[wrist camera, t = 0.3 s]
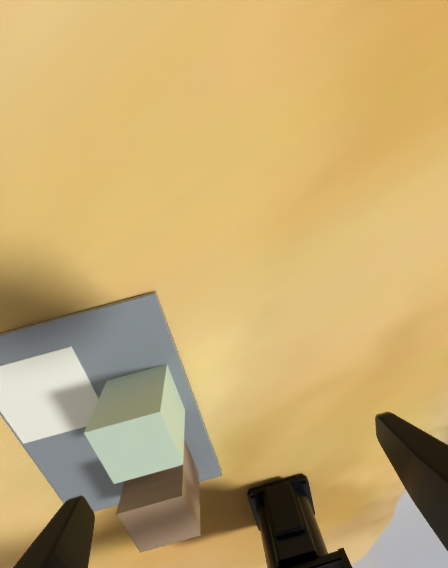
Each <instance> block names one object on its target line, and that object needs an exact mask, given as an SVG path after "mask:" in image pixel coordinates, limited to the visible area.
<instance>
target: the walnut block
mask: <svg viewBox="0 0 448 568" xmlns="http://www.w3.org/2000/svg"><path fill="white" fill-rule="evenodd" d="M116 515H117V516H118V518H119V519H120V521H121V523H122V524H123V526H124V528H125V529H126V531H127V532H128V534H129V536H130V537H131V539H132V540H133V542H134V544H135V545H136V547H137V548H138V550H139V552H144V551H148V550H151V549H155V548H158V547H162V546H165V545H169V544H172V543H176V542H179V541H183V540H186V539H190V538H193V537H197V536H201V535H200V485H199V472H198V470H197V468H196V465H195V463H194V460H193V458H192V455H191V453H190V451H189V448H188V446H187V443H186V441H185V439H184V456H183V465H180V466H177V467H173V468H170V469H166V470H163V471H159V472H155V473H152V474H148V475H145V476H141V477H138V478H134V479H130V480H127V481H124V484H123V488H122V492H121V496H120V501H119V505H118V509H117V514H116Z"/></svg>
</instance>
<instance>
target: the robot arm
mask: <svg viewBox="0 0 448 568" xmlns="http://www.w3.org/2000/svg"><path fill="white" fill-rule="evenodd" d="M375 422H376V435H377V438H378V441H379V443H380V445H381V447H382V448H383V450H384V452H385V454H386V455H387V457H388V459H389V461H390V462H391V464H392V466H393V467H394V469H395V471H396V473H397V474H398V476H399V478H400V480H401V481H402V483H403V485H404V487H405V488H406V490H407V492H408V493H409V495H410V497H411V498H412V500H413V501H414V503H415V505H416V506H417V508H418V509H419V510H420V512H421V513H422V515H423V516H424V518H425V519H426V521H427V522H428V523H429V525H430V526H431V528H432V529H433V531H434V532H435V533H436V535H437V536H438V538H439V539H440V541H441V542H442V544H443V545H444V546H445V548H446V549H447V551H448V445H447V444H445V443H443V442H442V441H440V440H438V439H436V438H435V437H433V436H431V435H429V434H428V433H426V432H424V431H422V430H421V429H419V428H417V427H416V426H414V425H412V424H410V423H409V422H407V421H405V420H403V419H402V418H400V417H398V416H396V415H395V414H393V413H391V412H385V413H381V414H377V415H376V417H375ZM247 495H248V499H249V502H250V505H251V508H252V511H253V514H254V517H255V520H256V523H257V526H258V529H259V531H261V536H262V541H263V547H264V552H265V557H266V562H267V567H268V568H352V566H351V564H350V562H349V559H348V557H347V555H346V553H345V550H344V548H341V549H338V551H336V552H333V553H329V554H328V552H327V549H326V546H325V544H324V541H323V538H322V535H321V533H320V530H319V527H318V525H317V522H316V519H315V516H314V515H315V511H314V506H313V502H312V497H311V492H310V487H309V482H308V479H307V477H306V476H305V475H301V476H298V477H294V478H291V479H287V480H283V481H280V482H276V483H273V484H269V485H266V486H262V487H259V488H255V489H252V490H249V491H248V492H247ZM94 522H95V516H94V512H93V510H92V508H91V507H90V505H89V503H88V502H87V500H86V499H85V497H84V496H82V495H80V496H76V497H73V498H70V499H68V500H67V501H66V502H65V503H64V504H63V505H62V507H61V508H60V509H59V510H58V512H57V513H56V514H55V515H54V517H53V518H52V519H51V521H50V522H49V523H48V524H47V526H46V527H45V528H44V529H43V531H42V532H41V533H40V534H39V536H38V537H37V538H36V539H35V541H34V542H33V543H32V544H31V546H30V547H29V548H28V550H27V551H26V552H25V553H24V555H23V556H22V557H21V558H20V560H19V561H18V562H17V563H16V565H15V566H14V567H13V568H88V563H89V556H90V549H91V542H92V536H93V529H94Z"/></svg>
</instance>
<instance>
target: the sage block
mask: <svg viewBox="0 0 448 568" xmlns="http://www.w3.org/2000/svg"><path fill="white" fill-rule="evenodd" d="M184 429H185V408H184V406H183V403H182V401H181V398H180V396H179V393H178V391H177V388H176V385H175V383H174V380H173V378H172V375H171V373H170V370H169V368H168V365H167V364H165V365H162V366H158V367H154V368H151V369H147V370H143V371H140V372H136V373H133V374H129V375H125V376H122V377H118V378H114V379H111V380H107V381H106V384H105V386H104V388H103V390H102V393H101V395H100V397H99V399H98V402H97V404H96V406H95V409H94V411H93V413H92V415H91V418H90V420H89V422H88V424H87V427H86V429H85V431H84V434H85V436H86V438H87V439H88V441H89V443H90V444H91V446H92V448H93V449H94V451H95V453H96V455H97V456H98V458H99V460H100V461H101V463H102V465H103V466H104V468H105V470H106V472H107V473H108V475H109V477H110V478H111V480H112V482H113V483H114V484H116V483H120V482H123V481H127V480H130V479H134V478H138V477H141V476H145V475H148V474H152V473H155V472H159V471H163V470H166V469H170V468H173V467H177V466H180V465H183V456H184Z"/></svg>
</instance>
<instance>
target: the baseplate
mask: <svg viewBox="0 0 448 568" xmlns="http://www.w3.org/2000/svg"><path fill="white" fill-rule="evenodd" d="M165 364H167V365H168V368H169V370H170V373H171V375H172V378H173V380H174V383H175V385H176V388H177V391H178V393H179V396H180V398H181V401H182V403H183V406H184V408H185V429H184V439H185V441H186V443H187V446H188V448H189V451H190V453H191V455H192V458H193V460H194V463H195V465H196V468H197V470H198V472H199V482H201V481H204V480H208V479H211V478H215V477H218V476H222V473H221V468H220V465H219V462H218V460H217V457H216V454H215V452H214V449H213V446H212V443H211V441H210V438H209V435H208V433H207V430H206V427H205V424H204V422H203V419H202V416H201V414H200V411H199V408H198V405H197V403H196V400H195V397H194V395H193V392H192V389H191V386H190V384H189V381H188V378H187V376H186V373H185V370H184V367H183V365H182V362H181V359H180V357H179V354H178V351H177V348H176V346H175V343H174V340H173V337H172V335H171V332H170V329H169V327H168V324H167V321H166V318H165V316H164V313H163V310H162V308H161V305H160V302H159V299H158V297H157V294H156V291H155V292H151V293H147V294H144V295H140V296H136V297H133V298H129V299H125V300H122V301H118V302H114V303H111V304H107V305H103V306H100V307H96V308H92V309H89V310H85V311H81V312H78V313H74V314H70V315H67V316H63V317H59V318H56V319H52V320H48V321H45V322H41V323H37V324H34V325H30V326H26V327H23V328H19V329H15V330H12V331H8V332H4V333H1V334H0V415H1V416H2V418H3V419H4V420H5V422H6V423H7V425H8V426H9V427H10V429H11V430H12V432H13V433H14V434H15V436H16V437H17V439H18V440H19V441H20V443H21V444H22V446H23V447H24V448H25V450H26V451H27V453H28V454H29V455H30V457H31V458H32V460H33V461H34V462H35V464H36V465H37V467H38V468H39V469H40V471H41V472H42V474H43V475H44V476H45V478H46V479H47V481H48V482H49V483H50V485H51V486H52V488H53V489H54V490H55V492H56V493H57V495H58V496H59V497H60V499H61V500H62V502H63V503H65V502H66V501H67V500H68V499H70V498H73V497H76V496H80V495H82V496H84V497H85V499H86V500H87V502H88V503H89V505H90V507H91V508H92V510H93V512H94V511H97V510H101V509H104V508H108V507H112V506H115V505H119V501H120V496H121V492H122V488H123V484H124V481H123V482H120V483H116V484H114V483H113V482H112V480H111V478H110V477H109V475H108V473H107V472H106V470H105V468H104V466H103V465H102V463H101V461H100V460H99V458H98V456H97V455H96V453H95V451H94V449H93V448H92V446H91V444H90V443H89V441H88V439H87V438H86V436H85V434H84V431H85V429H86V427H87V424H88V422H89V420H90V418H91V415H92V413H93V411H94V409H95V406H96V404H97V402H98V399H99V397H100V395H101V393H102V390H103V388H104V386H105V384H106V381H107V380H111V379H114V378H118V377H122V376H125V375H129V374H133V373H136V372H140V371H143V370H147V369H151V368H154V367H158V366H162V365H165Z"/></svg>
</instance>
